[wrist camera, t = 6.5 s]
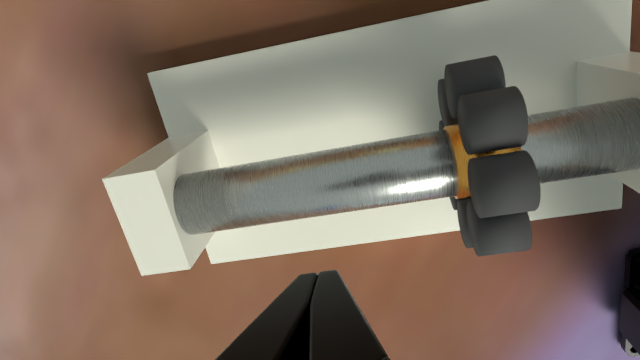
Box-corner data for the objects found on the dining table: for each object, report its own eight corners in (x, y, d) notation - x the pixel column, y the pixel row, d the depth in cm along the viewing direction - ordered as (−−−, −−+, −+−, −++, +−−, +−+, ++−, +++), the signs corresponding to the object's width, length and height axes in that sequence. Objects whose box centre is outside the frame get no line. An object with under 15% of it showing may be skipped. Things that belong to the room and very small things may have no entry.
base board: (618, -28, 17) (767, -55, 11) (609, 199, 20) (718, 277, 14) (156, 70, 20) (67, 94, 14) (217, 254, 23) (166, 338, 17)
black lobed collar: (469, 48, 17) (537, 66, 10) (480, 202, 19) (542, 294, 13) (430, 56, 17) (474, 78, 10) (446, 207, 19) (491, 300, 13)
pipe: (644, 83, 15) (701, 96, 12) (640, 153, 15) (692, 178, 13) (168, 166, 17) (137, 190, 15) (188, 222, 18) (161, 253, 16)
